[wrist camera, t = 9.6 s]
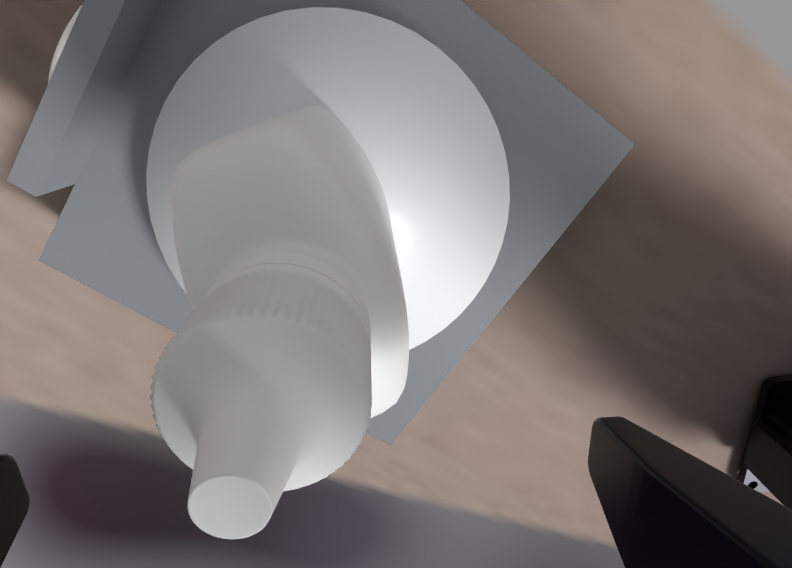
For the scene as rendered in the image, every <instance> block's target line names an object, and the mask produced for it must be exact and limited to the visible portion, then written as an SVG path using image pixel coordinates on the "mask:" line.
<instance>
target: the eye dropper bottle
mask: <svg viewBox="0 0 792 568" xmlns="http://www.w3.org/2000/svg"><path fill="white" fill-rule="evenodd" d="M172 219H173V231H174V239H175V247H176V252H177V257H178V263H179V267H180V272H181V275H182V279H183V283H184V287H185V290H186V293H187V296H188V298H189V301H190V304H191V307H192V310H193V312H192V314H191V315H190V316H189V318H188V319H187V320H186V321H185V323H184V324H183V325H182V327H181V328H180V329H179V330H178V332H177V333H176V334H175V336H174V337H173V338H172V339H171V341H170V342H169V343H168V345H167V346H166V347H165V350H164V351H163V353H162V354H161V355H160V357H159V362H158V363H157V364H156V366H155V373H154V374H153V375H152V379H153V383H152V384H151V385H150V387H151V390H152V393H151V395H150V398H151V400H152V404H151V408H152V410H153V412H154V414H153V417H154V419H155V420H156V422H157V424H156V426H157V427H158V429H159V430H160V432H161V436H162V437H163V438H164V440H165V441H166V444H167V445H168V446H169V447H170V448H171V449H172V451H173V452H174V453H175V454H176V455H177V456H178V457H179V459H180V460H182V461H183V462H184V463H185V464H186V465H188V466H189V467H190V468H191V469H193V474H192V480H191V486H190V492H189V498H188V512H189V515H190V517H191V519H192V520H193V522H194V523H195V524H196V525H197V526H198V527H199V528H200V529H201V530H203V531H204V532H206V533H208V534H210V535H213V536H215V537H219V538H224V539H241V538H245V537H249V536H251V535H254V534H256V533H257V532H259V531H260V530H262V529H263V528H264V527H265V525H266V524H267V523H268V521H269V520H270V517H271V515H272V513H273V511H274V509H275V507H276V505H277V503H278V501H279V499H280V497H281V494H282V493H283V491H287V490H293V489H297V488H301V487H304V486H307V485H310V484H312V483H315V482H318V481H319V480H320V479H323V478H325V477H328V475H329V474H331V473H333V472H335V471H336V469H337V468H339V467H341V466H343V465H344V462H345V461H347V460H349V459H350V458H351V455H352V454H353V453H354V452H356V451H357V446H359V445H360V444H361V443H362V438H363V437H364V436H365V435H366V428H367V427H368V426H369V419H370V418H372V417H374V416H377V415H379V414H381V413H383V412H385V411H386V410H387V409H389V408H390V407H391V406H393V405H394V404H395V403H397V401H398V399H399V397H400V395H401V394H402V392H403V390H404V388H405V383H406V378H407V373H408V363H409V329H408V317H407V309H406V302H405V296H404V290H403V284H402V279H401V273H400V268H399V262H398V257H397V252H396V246H395V241H394V235H393V230H392V225H391V219H390V215H389V210H388V206H387V202H386V199H385V195H384V192H383V189H382V187H381V184H380V182H379V179H378V177H377V175H376V172H375V170H374V168H373V166H372V164H371V163H370V161H369V159H368V157H367V155H366V154H365V152H364V151H363V149H362V147H361V146H360V145H359V143H358V142H357V140H356V139H355V137H354V136H353V135H352V134H351V132H350V131H349V130H348V129H347V127H346V126H345V125H344V124H343V123H342V122H341V121H340V120H339V119H338V118H337V117H336V116H335V115H334V114H333V113H332V112H331V111H330V110H328V109H326V108H324V107H322V106H308V107H304V108H301V109H298V110H295V111H292V112H289V113H286V114H283V115H280V116H277V117H274V118H271V119H268V120H266V121H263V122H260V123H257V124H255V125H252V126H250V127H247V128H245V129H242V130H239V131H237V132H234V133H232V134H229V135H227V136H224V137H222V138H220V139H217V140H215V141H212V142H210V143H208V144H206V145H204V146H201V147H199V148H197V149H195V150H194V151H193V152H192V153H190V154H189V155H188V156H187V157H186V158H185V159H184V160H183V161H182V162H180V163H179V164H178V167H177V170H176V173H175V176H174V179H173V183H172Z"/></svg>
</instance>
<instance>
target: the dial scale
mask: <svg viewBox="0 0 792 568" xmlns="http://www.w3.org/2000/svg"><path fill="white" fill-rule="evenodd" d="M308 106H322V107H324V108H326V109H328V110H330V111H331V112H332V113H333V114H334V115H335V116H336V117H337V118H338V119H339V120H340V121H341V122H342V123H343V124H344V125H345V126H346V127H347V129H348V130H349V131H350V132H351V134H352V135H353V136H354V137H355V139H356V140H357V142H358V143H359V145H360V146H361V147H362V149H363V151H364V152H365V154H366V155H367V157H368V159H369V161H370V163H371V164H372V166H373V168H374V170H375V172H376V175H377V177H378V179H379V182H380V184H381V187H382V189H383V192H384V195H385V199H386V202H387V206H388V210H389V215H390V219H391V225H392V230H393V235H394V241H395V246H396V252H397V257H398V262H399V268H400V273H401V279H402V284H403V290H404V296H405V302H406V309H407V317H408V329H409V363H408V373H407V378H406V383H405V388H404V390H403V392H402V394H401V395H400V397H399V399H398V401H397V403H395V404H394V405H393V406H391V407H390V408H389V409H387V410H386V411H385V412H383V413H381V414H379V415H377V416H374V417H372V418H370V419H369V426H368V427H367V428H366V433H368V434H370V435H372V436H374V437H376V438H378V439H380V440H382V441H383V442H385V443H387V444H389V445H391V444H392V443H393V442H394V440H395V439H396V438H397V437H398V436H399V434H400V433H401V432H402V431H403V429H404V428H405V427H406V426H407V424H408V423H409V422H410V421H411V420H412V418H413V417H414V416H415V415H416V413H417V412H418V411H419V410H420V408H421V407H422V406H423V405H424V404H425V402H426V401H427V400H428V399H429V397H430V396H431V395H432V394H433V392H434V391H435V390H436V389H437V388H438V386H439V385H440V384H441V383H442V381H443V380H444V379H445V378H446V376H447V375H448V374H449V373H450V372H451V370H452V369H453V368H454V367H455V365H456V364H457V363H458V362H459V360H460V359H461V358H462V357H463V356H464V354H465V353H466V352H467V351H468V349H469V348H470V347H471V346H472V344H473V343H474V342H475V341H476V340H477V338H478V337H479V336H480V335H481V333H482V332H483V331H484V330H485V328H486V327H487V326H488V325H489V324H490V322H491V321H492V320H493V319H494V317H495V316H496V315H497V314H498V312H499V311H500V310H501V309H502V308H503V306H504V305H505V304H506V303H507V301H508V300H509V299H510V298H511V296H512V295H513V294H514V293H515V292H516V290H517V289H518V288H519V287H520V285H521V284H522V283H523V282H524V280H525V279H526V278H527V277H528V276H529V274H530V273H531V272H532V271H533V269H534V268H535V267H536V266H537V264H538V263H539V262H540V261H541V260H542V258H543V257H544V256H545V255H546V253H547V252H548V251H549V250H550V248H551V247H552V246H553V245H554V244H555V242H556V241H557V240H558V239H559V237H560V236H561V235H562V234H563V232H564V231H565V230H566V229H567V228H568V226H569V225H570V224H571V223H572V221H573V220H574V219H575V218H576V216H577V215H578V214H579V213H580V212H581V210H582V209H583V208H584V207H585V205H586V204H587V203H588V202H589V200H590V199H591V198H592V197H593V196H594V194H595V193H596V192H597V191H598V189H599V188H600V187H601V186H602V184H603V183H604V182H605V181H606V180H607V178H608V177H609V176H610V175H611V173H612V172H613V171H614V170H615V168H616V167H617V166H618V165H619V164H620V162H621V161H622V160H623V159H624V157H625V156H626V155H627V154H628V153H629V151H630V150H631V149H632V148H633V146H634V145H635V144H634V143H633V142H632V141H631V140H630V139H628V138H627V137H626V136H625V135H624V134H622V133H621V132H620V131H619V130H618V129H616V128H615V127H614V126H613V125H611V124H610V123H609V122H608V121H607V120H605V119H604V118H603V117H602V116H601V115H599V114H598V113H597V112H596V111H594V110H593V109H592V108H591V107H590V106H588V105H587V104H586V103H585V102H584V101H582V100H581V99H580V98H579V97H577V96H576V95H575V94H574V93H573V92H571V91H570V90H569V89H568V88H567V87H565V86H564V85H563V84H562V83H561V82H559V81H558V80H557V79H556V78H554V77H553V76H552V75H551V74H550V73H548V72H547V71H546V70H545V69H544V68H542V67H541V66H540V65H539V64H537V63H536V62H535V61H534V60H533V59H531V58H530V57H529V56H528V55H527V54H525V53H524V52H523V51H522V50H521V49H519V48H518V47H517V46H516V45H514V44H513V43H512V42H511V41H510V40H508V39H507V38H506V37H505V36H504V35H502V34H501V33H500V32H499V31H497V30H496V29H495V28H494V27H493V26H491V25H490V24H489V23H488V22H487V21H485V20H484V19H483V18H482V17H481V16H479V15H478V14H477V13H476V12H474V11H473V10H472V9H471V8H470V7H468V6H467V5H466V4H465V3H464V2H462V1H461V0H84V2H83V4H82V5H81V6H80V8H79V9H78V10H77V11H76V13H75V14H74V16H73V17H72V19H71V20H70V22H69V23H68V25H67V27H66V29H65V30H64V32H63V34H62V36H61V37H60V40H59V42H58V44H57V48H56V50H55V53H54V56H53V59H52V63H51V67H50V72H49V79H48V85H47V88H46V90H45V92H44V95H43V97H42V99H41V102H40V104H39V106H38V109H37V111H36V113H35V116H34V118H33V120H32V123H31V125H30V127H29V130H28V132H27V134H26V136H25V139H24V141H23V143H22V146H21V148H20V150H19V153H18V155H17V157H16V160H15V162H14V164H13V167H12V169H11V171H10V174H9V176H8V178H7V181H8V182H10V183H11V184H13V185H15V186H17V187H19V188H20V189H22V190H24V191H26V192H28V193H29V194H31V195H33V196H35V197H38V196H41V195H44V194H47V193H50V192H53V191H56V190H59V189H62V188H65V187H68V186H71V185H74V184H75V185H74V187H73V189H72V191H71V193H70V195H69V198H68V200H67V202H66V204H65V206H64V208H63V210H62V212H61V214H60V216H59V219H58V221H57V223H56V225H55V227H54V229H53V231H52V233H51V235H50V238H49V240H48V242H47V244H46V246H45V248H44V250H43V252H42V254H41V256H40V259H39V261H41V262H43V263H45V264H47V265H48V266H50V267H52V268H54V269H56V270H58V271H60V272H62V273H64V274H66V275H67V276H69V277H71V278H73V279H75V280H77V281H79V282H81V283H83V284H85V285H86V286H88V287H90V288H92V289H94V290H96V291H98V292H100V293H102V294H104V295H106V296H107V297H109V298H111V299H113V300H115V301H117V302H119V303H121V304H123V305H125V306H126V307H128V308H130V309H132V310H134V311H136V312H138V313H140V314H142V315H144V316H146V317H147V318H149V319H151V320H153V321H155V322H157V323H159V324H161V325H163V326H165V327H166V328H168V329H170V330H172V331H174V332H176V333H177V332H178V330H179V329H180V328H181V327H182V325H183V324H184V323H185V321H186V320H187V319H188V318H189V316H190V315H191V314H192V312H193V310H192V307H191V304H190V301H189V298H188V296H187V293H186V290H185V287H184V283H183V279H182V275H181V272H180V267H179V263H178V257H177V252H176V247H175V239H174V231H173V219H172V183H173V179H174V176H175V173H176V170H177V167H178V164H179V163H180V162H182V161H183V160H184V159H185V158H186V157H187V156H188V155H189V154H190V153H192V152H193V151H194V150H195V149H197V148H199V147H201V146H204V145H206V144H208V143H210V142H212V141H215V140H217V139H220V138H222V137H224V136H227V135H229V134H232V133H234V132H237V131H239V130H242V129H245V128H247V127H250V126H252V125H255V124H257V123H260V122H263V121H266V120H268V119H271V118H274V117H277V116H280V115H283V114H286V113H289V112H292V111H295V110H298V109H301V108H304V107H308Z"/></svg>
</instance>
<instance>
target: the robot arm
mask: <svg viewBox="0 0 792 568" xmlns="http://www.w3.org/2000/svg"><path fill="white" fill-rule="evenodd" d="M588 468H589V473H590V476H591V479H592V481H593V484H594V487H595V490H596V492H597V495H598V498H599V500H600V503H601V506H602V508H603V511H604V514H605V516H606V519H607V522H608V524H609V527H610V530H611V532H612V535H613V538H614V540H615V543H616V546H617V548H618V551H619V554H620V556H621V558H622V561H623V564H624V566H625V568H792V375H791V376H777V377H771V378H769V379H767V380H766V381H765V382H764V383H763V385H762V387H761V391H760V395H759V399H758V403H757V406H756V410H755V414H754V418H753V422H752V426H751V430H750V434H749V437H748V441H747V445H746V449H745V453H744V457H743V461H742V465H741V468H740V472H739V476H738V480H736V479H734V478H732V477H731V476H729V475H727V474H725V473H723V472H722V471H720V470H718V469H716V468H714V467H712V466H711V465H709V464H707V463H705V462H703V461H702V460H700V459H698V458H696V457H694V456H692V455H691V454H689V453H687V452H685V451H683V450H682V449H680V448H678V447H676V446H674V445H672V444H671V443H669V442H667V441H665V440H663V439H662V438H660V437H658V436H656V435H654V434H652V433H651V432H649V431H647V430H645V429H643V428H642V427H640V426H638V425H636V424H634V423H632V422H631V421H629V420H627V419H625V418H623V417H602V418H597V419H596V420H595V421H594V423H593V426H592V432H591V440H590V448H589V455H588ZM760 492H771V493H772V494H773V495H774V496H775V497H776V498H777V499H778V500H779V501H780V502H781V503H782V504H783V505H784V506H783V505H782V504H780V503H778V502H776V501H774V500H772V499H771V498H769V497H767V496H765V495H763V494H762V493H760ZM29 503H30V498H29V493H28V490H27V488H26V485H25V482H24V480H23V477H22V474H21V472H20V469H19V467H18V464H17V462H16V460H15V459H14V458H13V457H12V456H11V455H7V454H0V567H1V565H2V563H3V561H4V559H5V557H6V555H7V553H8V551H9V549H10V547H11V545H12V543H13V541H14V539H15V537H16V535H17V533H18V530H19V529H20V527H21V524H22V522H23V520H24V518H25V516H26V514H27V512H28V508H29Z"/></svg>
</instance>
